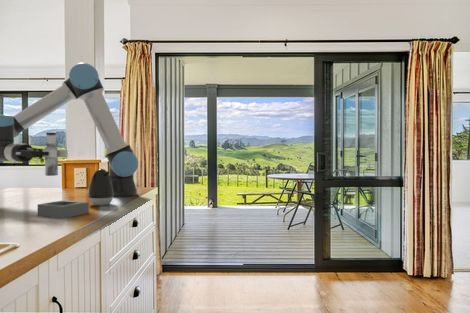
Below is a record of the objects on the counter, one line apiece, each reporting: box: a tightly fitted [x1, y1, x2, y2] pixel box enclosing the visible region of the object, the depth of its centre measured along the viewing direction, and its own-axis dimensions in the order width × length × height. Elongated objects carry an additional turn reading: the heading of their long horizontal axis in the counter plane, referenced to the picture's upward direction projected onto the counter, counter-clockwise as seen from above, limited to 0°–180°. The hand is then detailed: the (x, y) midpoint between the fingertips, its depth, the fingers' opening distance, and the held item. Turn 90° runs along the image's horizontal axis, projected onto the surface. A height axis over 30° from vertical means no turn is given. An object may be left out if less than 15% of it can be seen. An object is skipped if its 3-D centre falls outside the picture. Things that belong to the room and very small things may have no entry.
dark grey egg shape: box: [87, 168, 114, 207], centre depth 157 cm, size 10×10×15 cm
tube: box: [44, 132, 59, 177], centre depth 146 cm, size 4×4×17 cm
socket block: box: [37, 199, 90, 219], centre depth 136 cm, size 12×12×4 cm
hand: (61, 153), depth 144 cm, fingers closed on tube, 4 cm apart
